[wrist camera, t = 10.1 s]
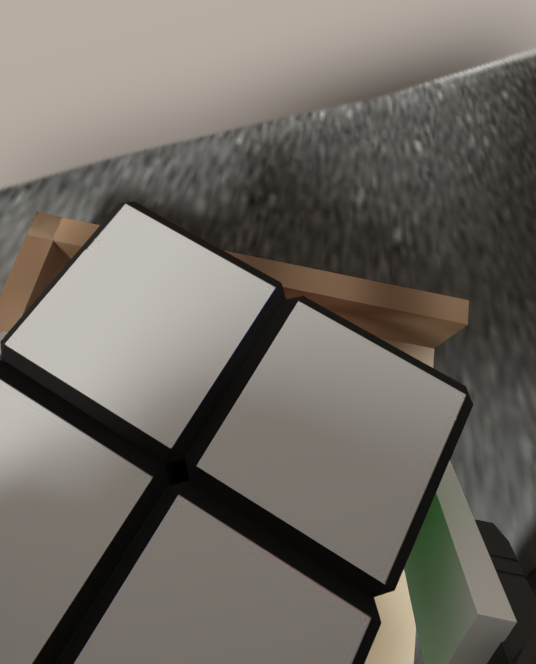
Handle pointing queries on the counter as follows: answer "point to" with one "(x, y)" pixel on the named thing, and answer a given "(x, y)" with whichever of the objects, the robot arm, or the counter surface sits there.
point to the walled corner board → (319, 286)
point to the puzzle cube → (204, 462)
